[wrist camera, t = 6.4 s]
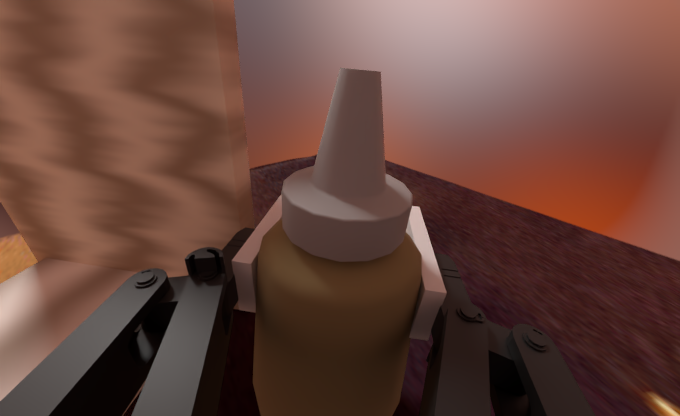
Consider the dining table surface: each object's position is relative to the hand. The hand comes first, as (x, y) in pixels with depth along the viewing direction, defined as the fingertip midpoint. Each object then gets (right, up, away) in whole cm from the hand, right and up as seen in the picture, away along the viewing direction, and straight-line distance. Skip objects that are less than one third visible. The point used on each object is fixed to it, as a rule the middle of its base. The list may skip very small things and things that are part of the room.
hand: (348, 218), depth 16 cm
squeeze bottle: (-1, -11, 0) cm, 11 cm away
